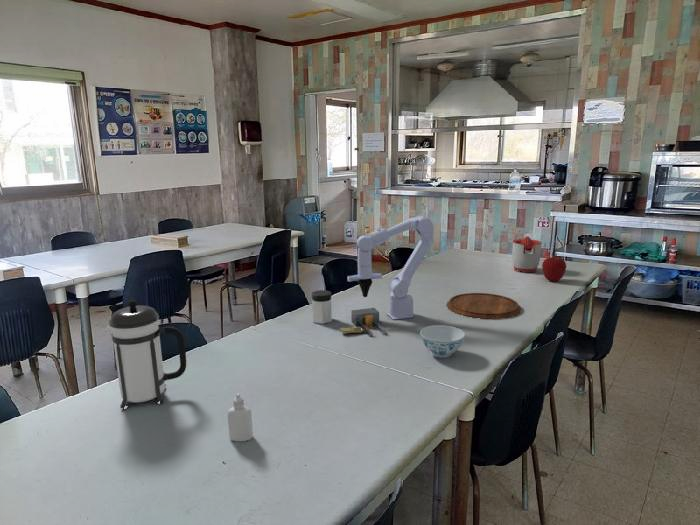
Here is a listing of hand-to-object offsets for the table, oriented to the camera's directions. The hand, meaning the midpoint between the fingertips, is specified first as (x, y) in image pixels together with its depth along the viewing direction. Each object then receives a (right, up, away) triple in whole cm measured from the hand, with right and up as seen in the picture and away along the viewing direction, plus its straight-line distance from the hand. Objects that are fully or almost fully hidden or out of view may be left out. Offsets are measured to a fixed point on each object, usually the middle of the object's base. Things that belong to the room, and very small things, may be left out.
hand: (364, 296), depth 204 cm
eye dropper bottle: (-34, -30, -82) cm, 94 cm away
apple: (+101, +4, +53) cm, 114 cm away
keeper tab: (-5, -13, -15) cm, 20 cm away
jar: (-18, -10, 0) cm, 21 cm away
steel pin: (-1, -10, -2) cm, 10 cm away
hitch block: (+2, -12, -10) cm, 15 cm away
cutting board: (+53, -6, +13) cm, 55 cm away
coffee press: (-65, -25, -61) cm, 93 cm away
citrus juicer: (+94, +9, +74) cm, 120 cm away
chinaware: (+26, -18, -35) cm, 47 cm away
